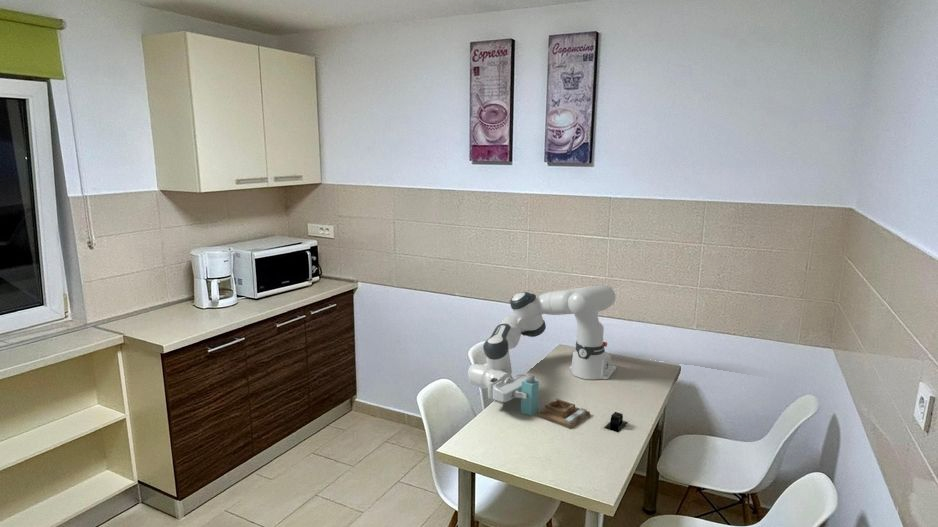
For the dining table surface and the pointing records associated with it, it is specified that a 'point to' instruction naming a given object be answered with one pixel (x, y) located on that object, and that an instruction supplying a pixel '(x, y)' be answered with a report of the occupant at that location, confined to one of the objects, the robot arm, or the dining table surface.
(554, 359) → the dining table surface
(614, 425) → the black block on base
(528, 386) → the teal bottle
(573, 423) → the jig
